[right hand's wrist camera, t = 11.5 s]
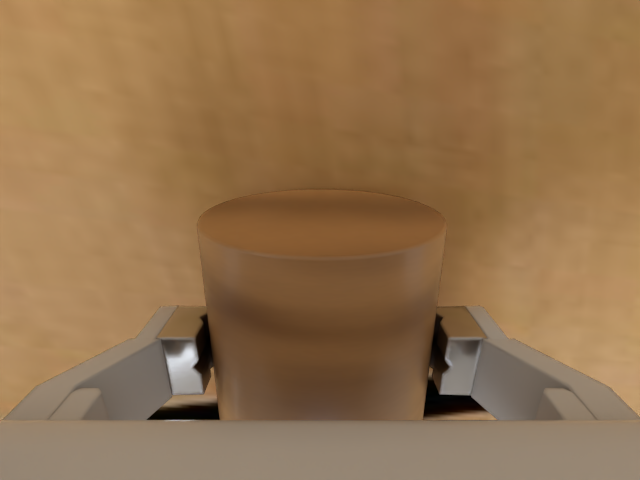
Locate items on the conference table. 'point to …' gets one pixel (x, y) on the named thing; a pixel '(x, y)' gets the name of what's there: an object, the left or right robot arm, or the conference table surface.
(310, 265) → the cylinder
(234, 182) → the conference table surface
